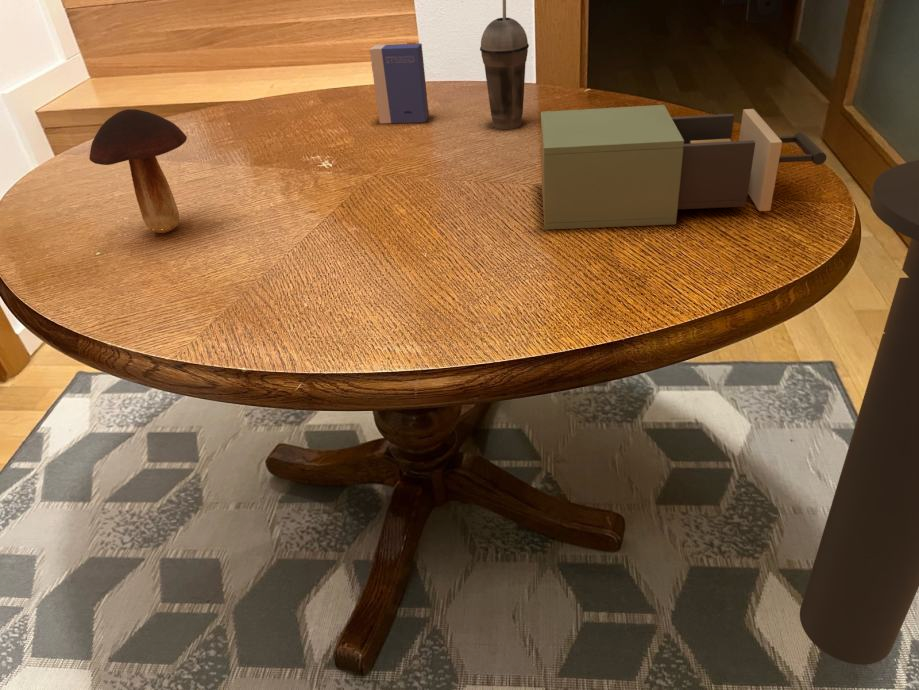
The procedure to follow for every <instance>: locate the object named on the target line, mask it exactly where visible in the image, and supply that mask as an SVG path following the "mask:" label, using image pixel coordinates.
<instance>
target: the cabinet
mask: <svg viewBox="0 0 919 690" xmlns="http://www.w3.org/2000/svg"><path fill="white" fill-rule="evenodd" d="M671 117H672V116H671V114H670V112H669V111H668V108H667V107H666V105H665V104H657V105H656V104H654V105H653V104H651V105H636V106H635V105H634V106H618V107H617V106H616V107H603V108H601V107H600V108H585V109H584V108H583V109H565V110H550V111H549V110H548V111H547V110H546V111H540V158H541V168H540V169H541V170H540V171H541V195H542V210H543V211H542V212H543V226H544V231H549V230H551V231H552V230H553V231H554V230H573V229H575V230H576V229H597V228H600V229H601V228H620V227H621V228H624V227H644V226H645V227H646V226H647V227H648V226H649V227H650V226H669V225H677V219H678V218H677V217H678V210H679V209H678V199H679V189H680V179H681V168H682V158H683V147H684V140H683V138H682V136H681V134H680V132H679V131H678V129H677V127H676V125H675V123H674V121H673V120H672V118H671Z"/></svg>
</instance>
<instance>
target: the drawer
mask: <svg viewBox="0 0 919 690" xmlns="http://www.w3.org/2000/svg"><path fill="white" fill-rule="evenodd" d="M671 118H672V120H673V121H674V123H675V125H676V127H677V129H678V131H679V132H680V134H681V136H682V138H683V140H684V147H683V158H682V168H681V179H680V189H679V199H678V209H677V210H694V209H695V210H696V209H698V210H699V209H719V208H720V209H721V208H723V209H724V208H741V207H744V208H745V207H746V206H747V200H748V196H749V197H750V199H751V201H752V202H753V204H754V205H755V207H756V208H757V210H758V211H759V212H771V210H772V209H771V208H772V203H773V197H774V191H775V185H776V180H777V176H778V175H777V174H778V170H779V164H780V163H781V164H782V163H799V162H812V163H813V164H814V165H816V166H820V165H822V164H825V162H826V161H827V155H826V154H827V153H825V152H824V151H823V150H822V149H821V148H820V147H819V145H817V144H816V143H815V142H814V141H813V140H812V139H811V138H810V136H809V135H808V134H807V133H805V132H804V131H798V132H796V133H795V134H794V135H786V136H785V135H783V136H778V135H777V134H776V133H775V132H774V131H773V129H772V128H771V127H770V126H769V125H768V124H767V122H766V121H765V120H764V119H763V117H761V116H760V114H759V113H758V112H757V111H756V110H755V109H754V108H745V109H742V116H741V121H740V123H741V124H740V130H739V135H738V136H739V137H738V140H734V141H732V136H733V129H734V121H735V115H734V113H721V114H706V115H705V114H702V115H685V116H683V115H682V116H671ZM714 139H730V140H731V141H730V142H711V143H692V144H690V141H695V140H714ZM789 143H795V145H796V146H797V147H798V148H799V149H800V150H801V152H803V153H804V154H788V155H787V154H786V155H781V151H782V145H783V144H789Z"/></svg>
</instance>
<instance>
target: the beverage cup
mask: <svg viewBox="0 0 919 690" xmlns="http://www.w3.org/2000/svg"><path fill="white" fill-rule="evenodd" d="M528 42H529V41H528V36H527V33H526V31H525V28H524V27H523V26H522V25H521V24H520V22H519V21H517V20H516V19H514V18H512V17H507V0H502V17H498V18H496V19H494V20H492V21H491V22H490V23H489V24H488V25H487V26H486V28H485V29H484V30H483V33H482V36H481V40H480V47H479V51H480V52H481V59H482V63H483V66H484V71H485V72H484V73H485V79H486V87H487V94H488V102H489V109H490V116H491V120H492V121H491V122H492V127H494V129H499V130H512V129H516V128H519V127H521V126H522V123H523V121H522V120H523V114H524V99H525V82H526V81H525V79H526V64H527V63H526V62H527V58H528V53H529V47H530V44H529V43H528Z"/></svg>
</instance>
